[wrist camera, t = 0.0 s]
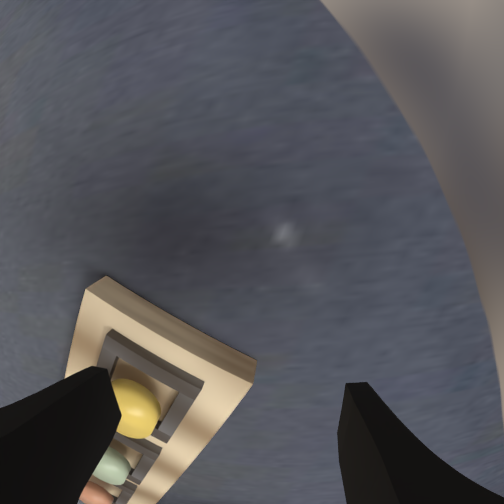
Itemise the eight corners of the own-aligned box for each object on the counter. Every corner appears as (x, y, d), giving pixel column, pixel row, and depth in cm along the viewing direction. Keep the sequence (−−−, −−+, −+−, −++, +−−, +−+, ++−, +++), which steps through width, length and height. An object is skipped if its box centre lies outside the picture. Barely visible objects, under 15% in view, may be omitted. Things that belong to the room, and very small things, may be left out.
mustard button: (166, 428, 17) (159, 443, 16) (115, 418, 17) (106, 431, 16) (154, 383, 16) (145, 398, 15) (100, 374, 16) (89, 387, 15)
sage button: (136, 477, 19) (130, 489, 18) (97, 466, 19) (91, 477, 18) (123, 449, 18) (115, 462, 17) (83, 438, 19) (74, 449, 17)
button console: (149, 502, 26) (140, 523, 23) (63, 453, 26) (50, 471, 23) (257, 360, 20) (251, 392, 16) (106, 275, 19) (78, 293, 16)
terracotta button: (118, 505, 21) (113, 515, 20) (88, 495, 22) (82, 504, 20) (106, 486, 20) (100, 497, 19) (74, 475, 21) (68, 484, 19)
